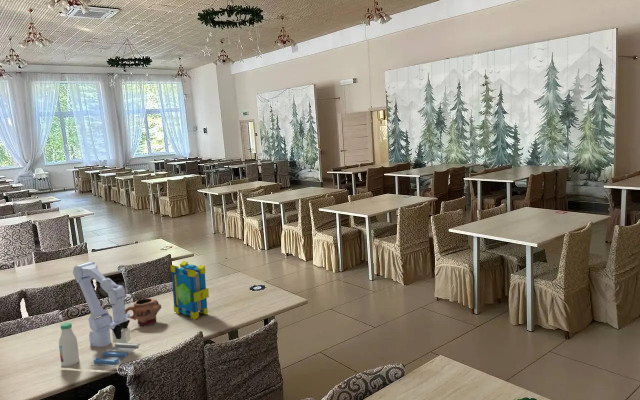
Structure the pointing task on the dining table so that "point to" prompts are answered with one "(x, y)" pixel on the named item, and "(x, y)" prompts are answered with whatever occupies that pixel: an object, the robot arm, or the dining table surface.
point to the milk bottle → (68, 346)
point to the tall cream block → (122, 336)
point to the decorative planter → (144, 311)
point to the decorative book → (189, 289)
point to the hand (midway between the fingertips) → (121, 336)
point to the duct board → (115, 354)
